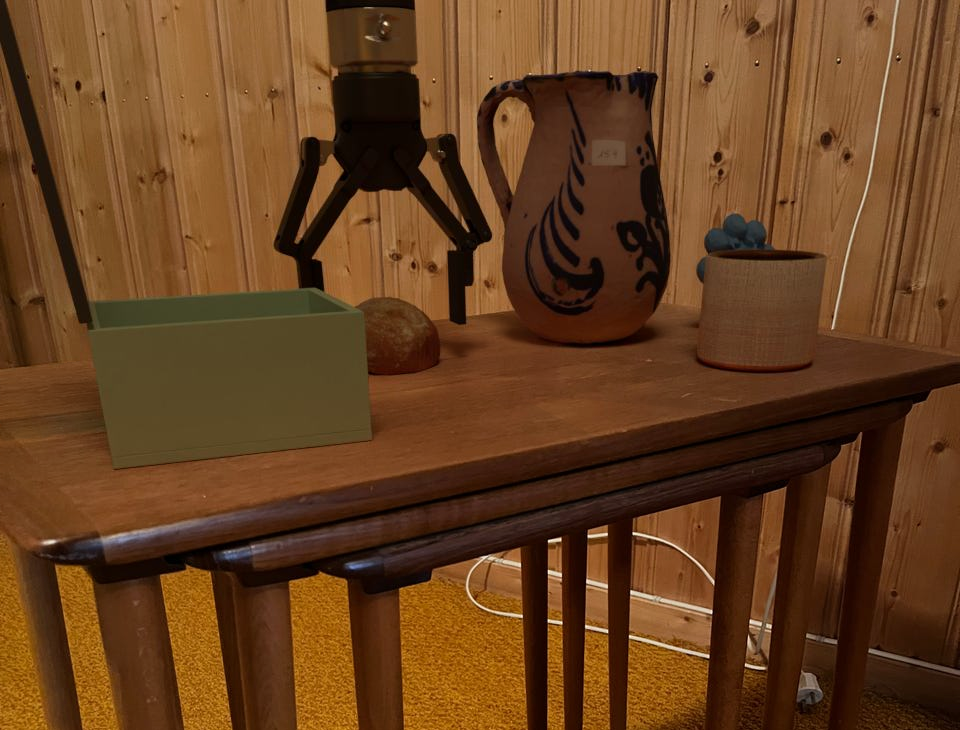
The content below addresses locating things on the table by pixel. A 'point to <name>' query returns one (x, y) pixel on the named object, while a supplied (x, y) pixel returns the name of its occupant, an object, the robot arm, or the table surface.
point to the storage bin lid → (42, 164)
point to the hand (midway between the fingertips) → (391, 329)
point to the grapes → (734, 238)
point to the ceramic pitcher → (582, 205)
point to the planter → (760, 309)
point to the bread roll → (398, 337)
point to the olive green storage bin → (229, 374)
